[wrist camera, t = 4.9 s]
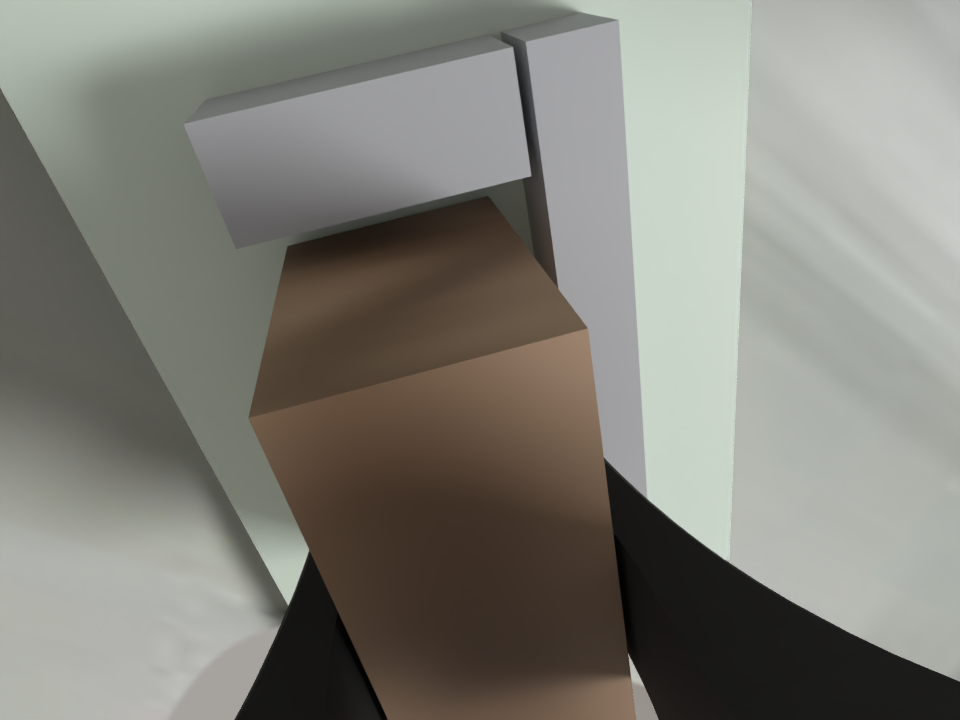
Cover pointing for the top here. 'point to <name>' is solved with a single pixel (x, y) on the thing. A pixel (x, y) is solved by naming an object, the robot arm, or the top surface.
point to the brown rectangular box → (448, 467)
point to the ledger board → (230, 292)
